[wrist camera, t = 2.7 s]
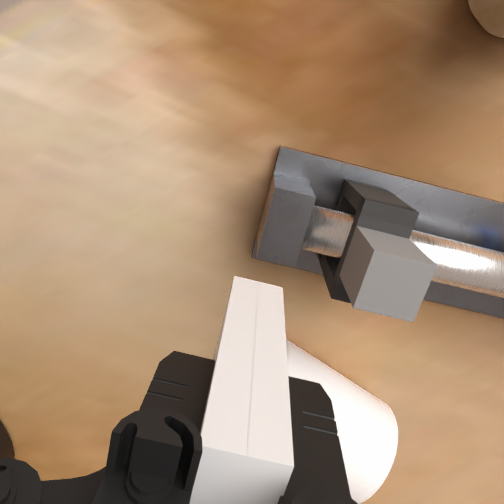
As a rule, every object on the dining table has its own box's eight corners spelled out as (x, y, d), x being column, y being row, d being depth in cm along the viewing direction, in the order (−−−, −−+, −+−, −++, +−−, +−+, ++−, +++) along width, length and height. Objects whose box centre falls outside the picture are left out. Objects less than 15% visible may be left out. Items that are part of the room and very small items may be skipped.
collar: (318, 261, 30) (343, 334, 20) (345, 179, 28) (385, 219, 18) (359, 271, 30) (402, 348, 20) (388, 190, 28) (450, 235, 18)
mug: (285, 318, 33) (290, 382, 25) (382, 382, 34) (414, 460, 27) (201, 417, 36) (184, 499, 29) (293, 470, 38) (299, 562, 30)
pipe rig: (252, 253, 31) (249, 285, 25) (280, 145, 28) (283, 155, 23) (561, 328, 32) (620, 373, 27) (616, 231, 29) (694, 260, 24)
